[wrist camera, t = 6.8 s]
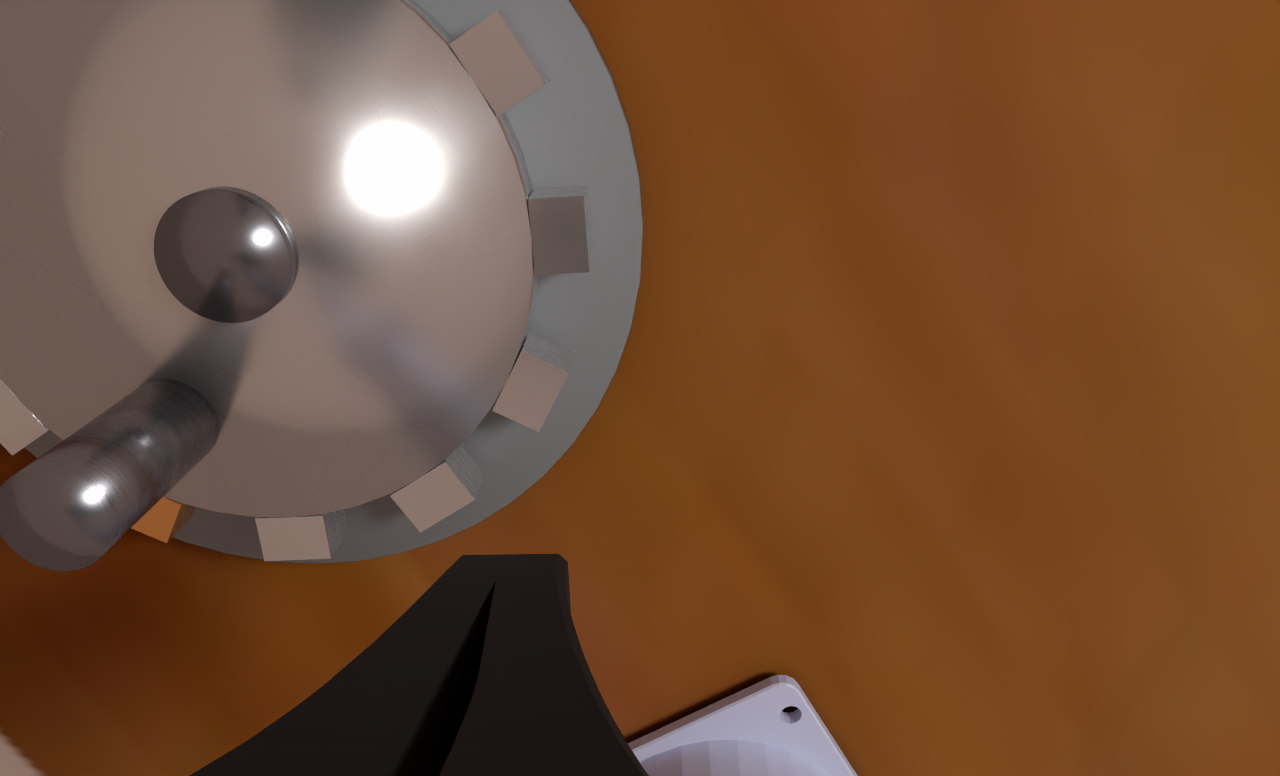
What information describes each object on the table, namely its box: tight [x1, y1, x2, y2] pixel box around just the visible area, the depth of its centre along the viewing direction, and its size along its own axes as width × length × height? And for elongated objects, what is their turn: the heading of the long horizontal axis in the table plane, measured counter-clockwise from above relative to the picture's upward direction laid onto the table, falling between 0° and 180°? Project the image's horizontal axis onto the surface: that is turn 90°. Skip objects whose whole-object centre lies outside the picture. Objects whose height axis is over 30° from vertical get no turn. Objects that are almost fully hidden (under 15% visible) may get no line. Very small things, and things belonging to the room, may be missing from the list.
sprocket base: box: [25, 0, 643, 564], centre depth 19 cm, size 15×15×1 cm
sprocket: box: [0, 0, 593, 571], centre depth 16 cm, size 13×13×5 cm
